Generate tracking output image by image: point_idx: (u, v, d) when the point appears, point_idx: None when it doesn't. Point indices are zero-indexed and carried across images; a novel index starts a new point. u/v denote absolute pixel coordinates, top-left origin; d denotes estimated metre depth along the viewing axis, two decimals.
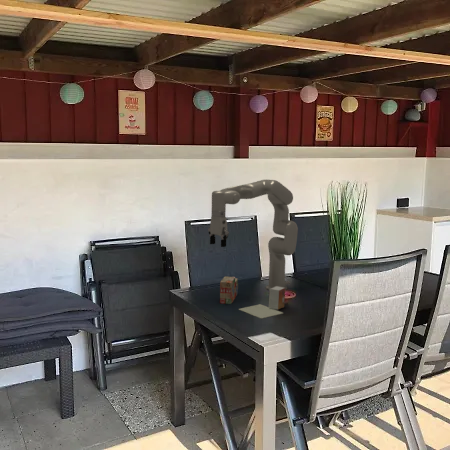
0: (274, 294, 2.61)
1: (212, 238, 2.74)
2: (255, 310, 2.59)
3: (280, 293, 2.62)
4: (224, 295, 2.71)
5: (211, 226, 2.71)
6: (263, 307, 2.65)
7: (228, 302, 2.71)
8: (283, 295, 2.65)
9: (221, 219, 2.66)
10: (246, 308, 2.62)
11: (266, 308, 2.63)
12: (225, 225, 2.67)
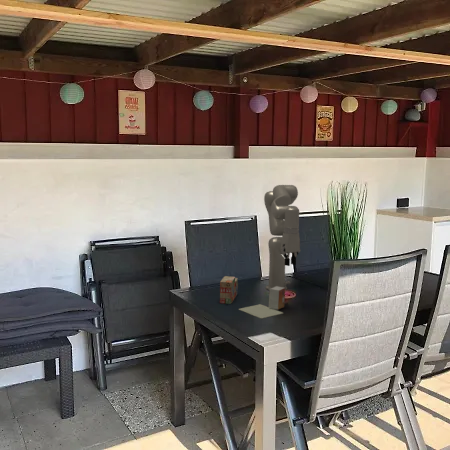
0: (274, 294, 2.61)
1: None
2: (255, 310, 2.59)
3: (280, 293, 2.62)
4: (223, 295, 2.71)
5: (289, 245, 2.63)
6: (263, 307, 2.65)
7: (228, 302, 2.71)
8: (283, 295, 2.65)
9: None
10: (246, 308, 2.62)
11: (266, 308, 2.63)
12: None
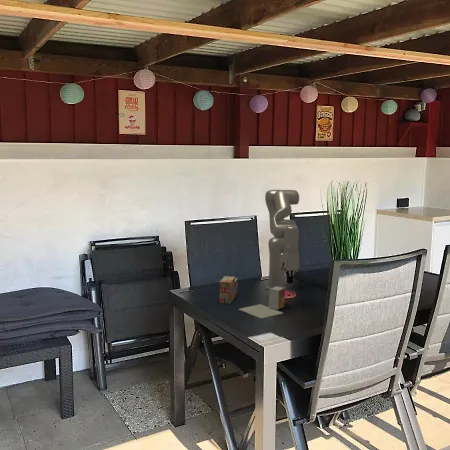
0: (274, 294, 2.61)
1: None
2: (255, 310, 2.59)
3: (280, 293, 2.62)
4: (223, 295, 2.71)
5: (289, 263, 2.64)
6: (263, 307, 2.65)
7: (227, 302, 2.72)
8: (283, 295, 2.65)
9: None
10: (246, 308, 2.62)
11: (266, 308, 2.63)
12: None
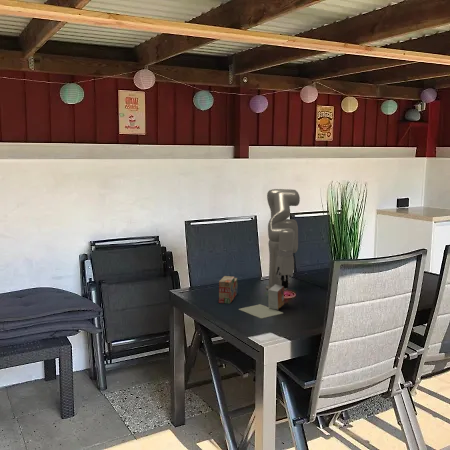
0: (273, 295, 2.60)
1: None
2: (255, 310, 2.59)
3: (279, 293, 2.60)
4: (222, 295, 2.72)
5: (284, 267, 2.61)
6: (263, 307, 2.65)
7: (227, 302, 2.72)
8: (282, 293, 2.63)
9: None
10: (246, 308, 2.62)
11: (266, 308, 2.63)
12: None
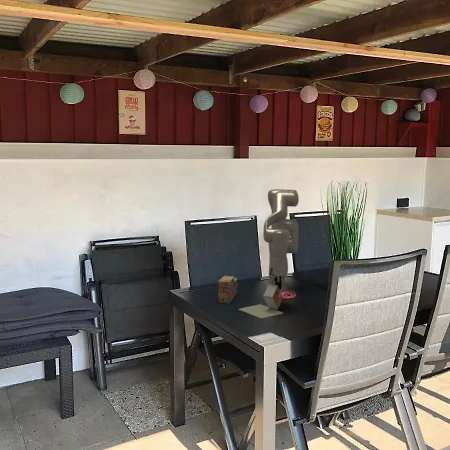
0: (269, 299, 2.57)
1: None
2: (255, 310, 2.59)
3: (275, 296, 2.57)
4: (222, 294, 2.72)
5: (277, 269, 2.58)
6: (263, 307, 2.65)
7: (226, 301, 2.72)
8: (278, 292, 2.60)
9: None
10: (246, 308, 2.62)
11: (266, 308, 2.63)
12: None
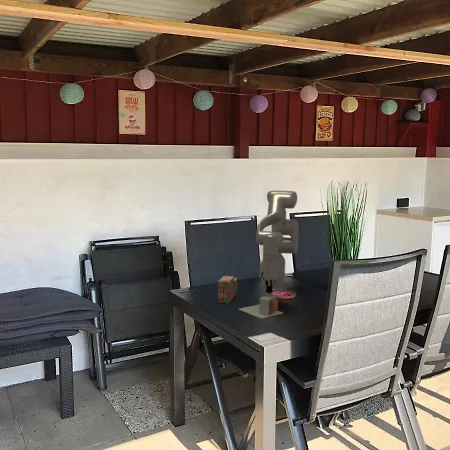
0: None
1: None
2: (255, 310, 2.59)
3: (270, 310, 2.53)
4: (221, 294, 2.72)
5: (268, 272, 2.56)
6: None
7: (226, 301, 2.72)
8: (272, 302, 2.54)
9: None
10: (246, 308, 2.62)
11: None
12: None
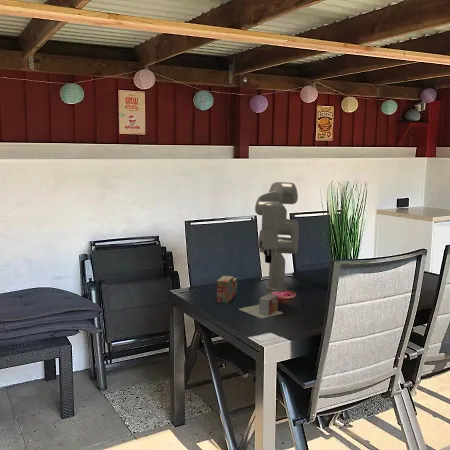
0: None
1: None
2: (255, 310, 2.59)
3: (270, 310, 2.53)
4: (220, 294, 2.73)
5: (267, 242, 2.53)
6: None
7: (224, 301, 2.73)
8: (272, 302, 2.54)
9: None
10: (246, 308, 2.62)
11: None
12: None
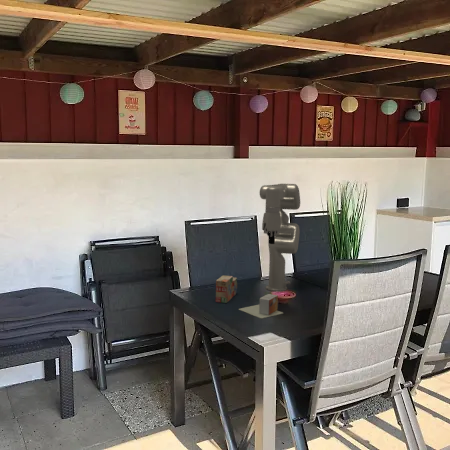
0: None
1: None
2: (255, 310, 2.59)
3: (270, 310, 2.53)
4: (219, 294, 2.73)
5: (270, 223, 2.69)
6: None
7: (223, 301, 2.73)
8: (272, 302, 2.54)
9: None
10: (246, 308, 2.62)
11: None
12: None
